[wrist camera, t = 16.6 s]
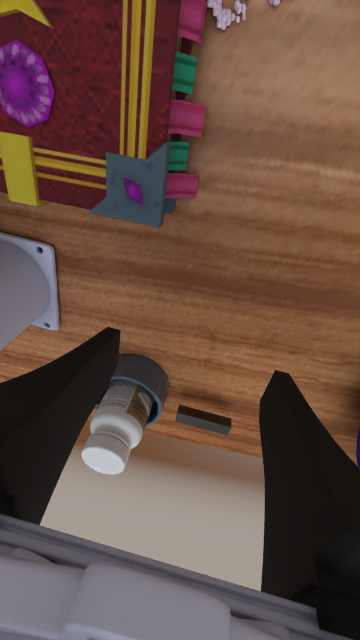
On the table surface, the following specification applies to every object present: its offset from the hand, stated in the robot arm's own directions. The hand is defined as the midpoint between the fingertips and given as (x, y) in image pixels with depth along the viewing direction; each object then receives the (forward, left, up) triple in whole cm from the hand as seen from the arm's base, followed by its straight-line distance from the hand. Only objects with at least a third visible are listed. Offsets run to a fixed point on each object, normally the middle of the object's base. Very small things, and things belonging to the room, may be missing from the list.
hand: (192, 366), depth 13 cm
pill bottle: (-4, -13, -9) cm, 16 cm away
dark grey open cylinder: (-4, -12, -9) cm, 16 cm away
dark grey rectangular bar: (+3, -12, -7) cm, 14 cm away
